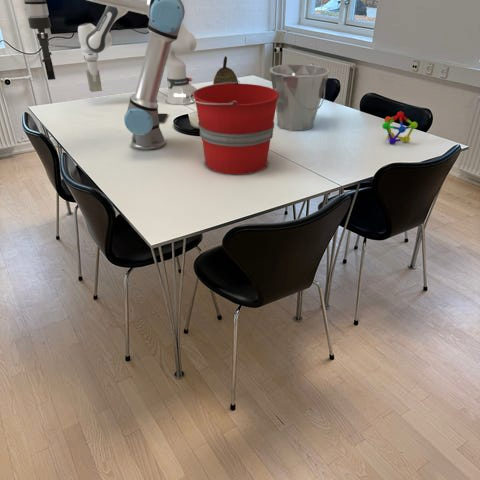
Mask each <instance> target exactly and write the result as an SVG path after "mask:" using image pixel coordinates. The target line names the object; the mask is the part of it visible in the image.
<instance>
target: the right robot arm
mask: <svg viewBox="0 0 480 480" xmlns="http://www.w3.org/2000/svg"><path fill="white" fill-rule="evenodd" d="M128 12H130V11H129V10H124V9H120V8H116V7H112V6H108V5H106V7H105V9H104V12H103V13H102V15H101V17H100V19H99V20H98V23H97V24H96V26H95V25H94V24H92V23H91V22H85V23H82V24H79V25H78V26H77V35H78V41H79V45H80V54H81V59H83V60H84V62H86V65H87V70H89V71H90V73H91V75H92V78H93V81H94V82H96V75H97V74H98V70H99V69H98V59H99V53H101V52H103V51H105V50H107V49H108V48H110V47H111V46H112V45H113V42H114V39H113V36H112V34H111V32H110V30H111V28H112V26H113V25H114V23H115V22H116V21H117V20H119V19H120V18H122V17H123V16H125V15H126V14H128ZM196 48H197V39H196V37H195V35H194V34H193V33H192V32H190V31H189V30H188V29H187V28H186V26H185V24H184V22H183V21H182V23H181V26H180V30H179V33H178V37H177V40H175V41H174V42H172V44H171V47H170V51H169V54H168V58H167V62H166V65H165V68H166V73H167V77H166V79H167V80H166V84H167V98H166V103H168V104H170V105H183V106H184V105H185V106H186V105H191V104H196V102H194V101H193V102H190V101H191V99H193V100H194V99H195V98H194V96H193V94H194V93H193V94H192V95H191V99H190V94H191V93H192V92H193V91H195V90H197V89H198V88H197V87H195V86H194V85H193V84H191V83H190V82H192V81H193V78H192V77H187V68H186V67H187V65H186V63H185V62H184V61H183V60H182V59H180V58H179V57H178V55H177V54H190V53H193V52H194V51H196ZM323 93H324V91H323Z"/></svg>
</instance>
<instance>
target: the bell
mask: <svg viewBox="0 0 480 480" xmlns="http://www.w3.org/2000/svg"><path fill="white" fill-rule="evenodd" d="M227 63H228V57H227V56H224V58H223V63H222V67H221V68H219V69H218V70H217V71H216V73H215V75H214V78H213V81H212V83H213V84H219V83H225V82H236V81H237V84H239V80H238V79H239V78H238V77H237V75H236V73H235V72H234V70H232V69H231V68H230V67H227ZM213 84H212V85H213ZM227 84H234V83H227Z"/></svg>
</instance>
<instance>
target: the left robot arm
mask: <svg viewBox="0 0 480 480" xmlns="http://www.w3.org/2000/svg"><path fill="white" fill-rule="evenodd" d="M86 1H87V2H92V3H97V4H99V5H105V6H107V5H108V6H112V7H116V8H120V9H124V10H129V11H128V12H133V13H138V14H141V15H146V16H147V18H148V19H149V20H148V23H147V31H148V33H149V38H148V40H147V41H148V42H147V45H146V49H145V53H144V58H143V61H142V65H141V66H142V67H141V69H140V73H139V78H138V82H137V86H136V89H135V93H134V94H131V95H130V96H129V102H128V106H127V110H126V112H125V114H124V117H123V122H124V126H125V128H126V129H127V130H128V131H129V132H130V133H132V135H131V142H130V143H131V147H132V148H134V149H135V150H141V151H151V150H153V151H154V150H157V149H161V148H163V147H164V146H165V144H166V140H165V137H164V135H163V132H162V130H161V127H160V123H159V117H158V114H159V104H158V95H159V90H160V87H161V84H162V79H163V76H164V72H165V70H166V62H167V58H168V54H169V51H170V47H171V44H172V42H174V41H175V40H177V37H178V33H179V30H180V26H181V23H182V22H183V20H184V18H185V15H186V13H185V11H186V10H185V6H184V4H183V2H182V0H86ZM23 2H24V7H23V10H25V11H26V15H27V16H28V18H27V20H28V26H29V28H30V29H31V30H37V32H38V33H37V32H36V38H37V40H38V43H39V46H40V47H41V53H42V57H43V59H41V62H42V63H44V67H45V72H46V77H47V80H49V81H51V80H52V81H53V80H56V75H55V70H54V65H53V61H52V55H53V54H52V52H51V51H50V49H49V48H50V47H49V46H50V41H49V34H48V32H46V30H48V29H50V28H52V25H51V19H50V16H49V15H50V13H49V8H48V4H47V0H23Z"/></svg>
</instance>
